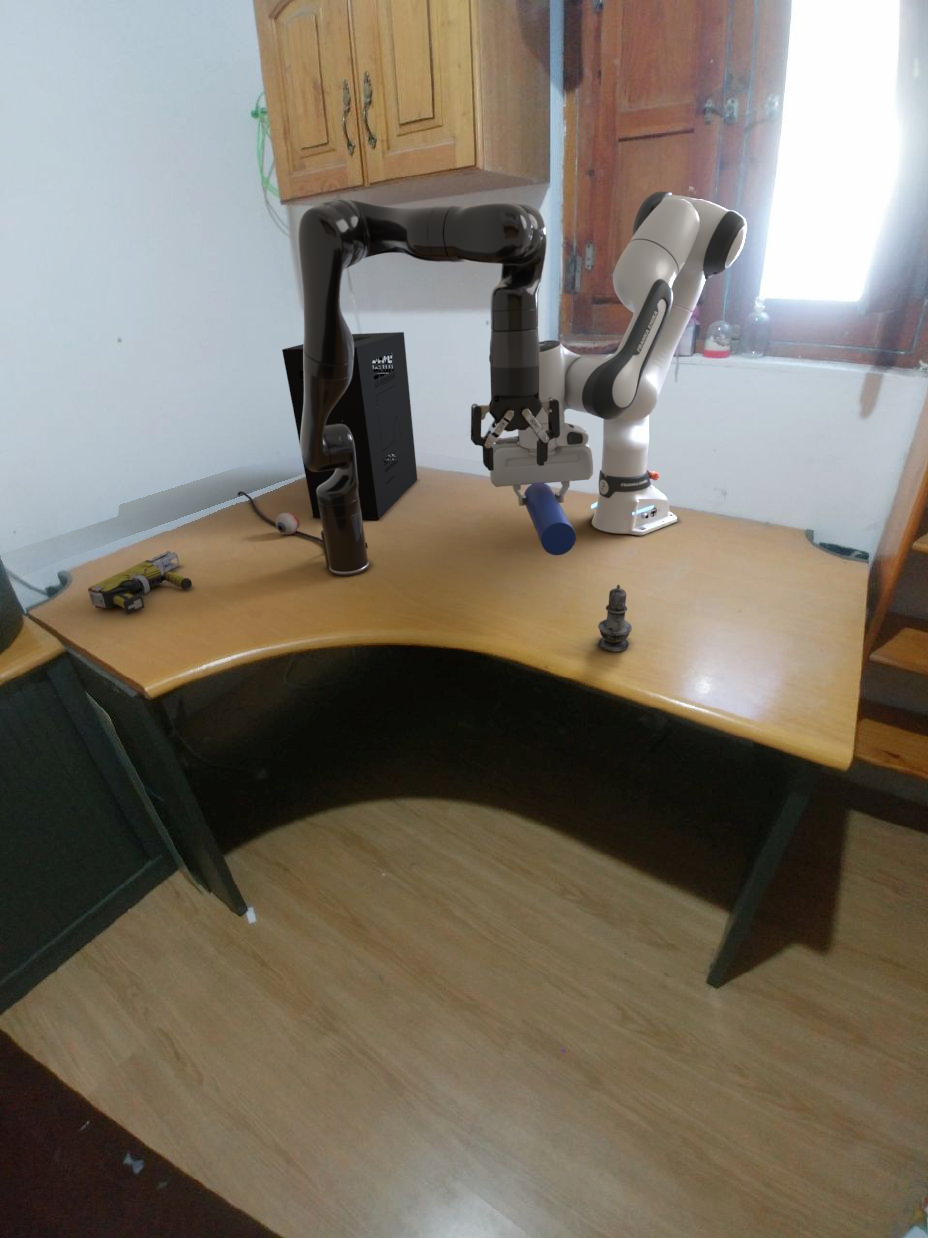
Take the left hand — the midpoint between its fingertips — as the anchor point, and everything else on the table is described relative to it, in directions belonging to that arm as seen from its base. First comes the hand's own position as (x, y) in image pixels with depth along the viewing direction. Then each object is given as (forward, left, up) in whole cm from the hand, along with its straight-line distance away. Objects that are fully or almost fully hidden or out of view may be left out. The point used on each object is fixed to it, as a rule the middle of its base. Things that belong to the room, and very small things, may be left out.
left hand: (515, 467), depth 100 cm
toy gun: (-80, -27, -32) cm, 90 cm away
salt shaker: (+18, +4, -32) cm, 36 cm away
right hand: (-6, +19, -13) cm, 24 cm away
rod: (-1, +13, -16) cm, 20 cm away
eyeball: (-79, +12, -32) cm, 86 cm away
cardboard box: (-81, +45, -32) cm, 98 cm away
